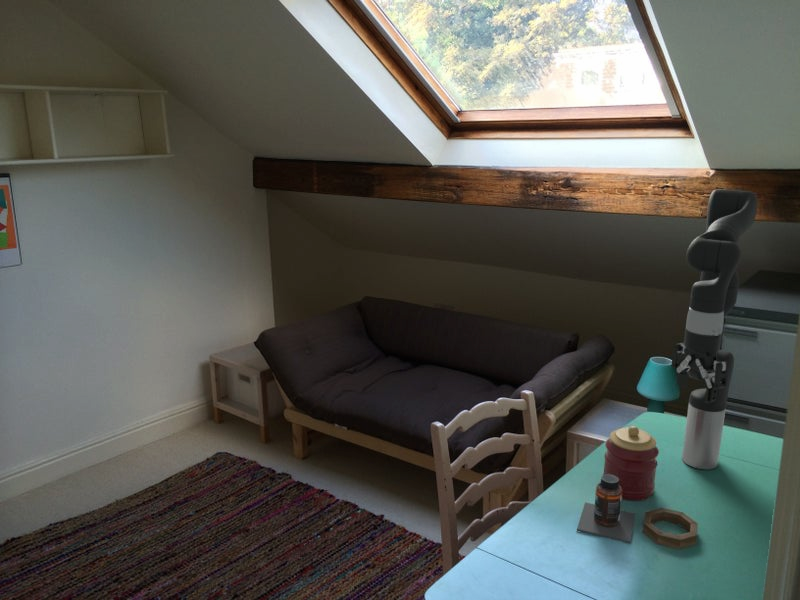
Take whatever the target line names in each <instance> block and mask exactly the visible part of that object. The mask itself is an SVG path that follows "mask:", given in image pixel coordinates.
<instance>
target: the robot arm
mask: <svg viewBox="0 0 800 600" xmlns="http://www.w3.org/2000/svg"><path fill="white" fill-rule="evenodd" d="M758 203H759V201H758V196H757V194H756V193H755V192H753V191H749V190H742V189H741V190H740V189H739V190H738V189H727V188H723V189H722V188H716V189H714V190H712V192H710V196H709V198H708V205H707V212H706V213H707V214H706V227H705V232H704V233H702V234H701V235H699V236H696V238H694V239H693V240H692V241H691V243H690V244H689V246H688V247H687V250H686V255H685V259H686V263H687V265H688V267H690V268H691V269H692V270H695V271H697V272H700V278H699V281H696V282H694V284H692V287H691V291H690V300H689V309H688V312H687V316H686V323H685V331H684V339H683V342H680V343H676V344H674V346H673V347H674V348H673V354H672V359H671V367H672V368H675V369H676V372H677V378H676V386H677V387H676V388H678V389H685V388H687V386H688V379H689V378H691V379H694V380H696V381H701V382H704V383H706V386H707V387H706V388H697V389H694V390H693V391H691V392H690V395H689V399H688V406H687V417H686V422H685V423H686V424H685V429H684V432H685V433H684V441H683V447H682V452H681V453H682V454H681V460H682V462H684V463H685V464H686V465H688V466H690V467H692V468H695V469H699V470H712V469H713V470H714V469H715V468H717V467H718V463H719V460H720V459H719V458H720V451H721V444H722V437H723V430H724V423H725V416H726V415H725V414H726V410H727V409H726V408H727V402H728V397H729V391H730V385H731V380H732V376H733V370H734V367H735V357H734V354H733V353H732V352H730V351H728V350H727V351H726V350H723V349H720V348H721V345H722V337H723V328H724V319H725V317H727V315H728V314H729V313H730V312H731V311H732V310H733V308H735V305H736V303H737V298H738V292H739V285H740V278H739V273H738V271H737V268H738V265H739V264H740V261H741V258H742V253H741V248H740V246H739V245H738V243H739V240H740V238H741V237H742V236H743V234H745V233H746V232H747V231H748V230H749V229H750V227H751V226H752V225H753V224H754V222H755V219H756V217H757V212H758Z"/></svg>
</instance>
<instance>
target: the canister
mask: <svg viewBox="0 0 800 600" xmlns="http://www.w3.org/2000/svg"><path fill="white" fill-rule="evenodd" d="M605 448H606V451H605V453H604V456H603V457H604V462H603V463H604V464H603V473H602V476H603V475H606V474H611V475H614V476H616V477H618V479H619V486H620V487H621V489H622V500H625V501H632V502H635V501H636V502H637V501H638V502H639V501H644V500H647V499H650V497H652V496H653V494H654V491H655V489H656V488H655V486H656V482H655V480H656V473H657V472H656V471H657V467H658V460H657V457H658V456H659V452H660V451H659V450H660V449H659V448H658V446H657V441H656V439H655V437H653V436H652V435H651V434H650V433H648V432H647V431H645V430H644V429H640V428H638V426H636V425H631V426H629V427H628V426H627V427H621V428H619V429H616V430H613V431H611V433H610V434H609V438H607V440H606V442H605Z"/></svg>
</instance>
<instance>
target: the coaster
mask: <svg viewBox="0 0 800 600" xmlns="http://www.w3.org/2000/svg"><path fill="white" fill-rule="evenodd" d="M594 509H595V503H590V502H586V501H585V502H584V504H583V508H582V512H581V515H580V518H579V521H578V524H577V528H576V532H578V531H580V532H579V533H583V534H587V535H591V534H592V535H593V536H597V537H601V538H604V539H610V540H614V541H617V542H621V543H622V542H623V543H625V544H631V540H632V536H633V530H634V524H635V517H636V513H635V512H630V511H626V510H622V509H621V511H620V520H619V523H618V524H617V525H615V526H604V525H601V524H599V523H598V522H596V520H595V519H594Z"/></svg>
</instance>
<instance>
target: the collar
mask: <svg viewBox="0 0 800 600" xmlns="http://www.w3.org/2000/svg"><path fill="white" fill-rule="evenodd" d="M659 522H667V523H671V524H676V525H679V526H680V527H681V528H683V529H684V530H686V531H687V532H685V533H684V532H683V533H682V534H674V533H669V532H664V531H661V530H660V529H659V528H658V527H656V526H655V525H654V524H655V523H659ZM698 525H699V523H698V522H697V521H695V520H694V519H693V518H692V517H690V516H689V515H687V514H686V513H684V512H683V511H678V510H675V509H674V510H673V509H671V508H670V509H669V508H665V507H660V508H659V507H658V508H655V509H651V510H647V511H645V512H644V518H643V524H642V533H643V534H644V535H645V536H647V538H649V539H650V540H651V541H652V542H653V543H655V544H656V545H659V546H663V547H667V548H668V547H669V548H672V549H678V550H681V549H682V550H683V549H685V548H689V547H692V546H694V545H695V546H696V545H697V542H698V541H697V540H698V532H699V531H698V529H699V527H698Z"/></svg>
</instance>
